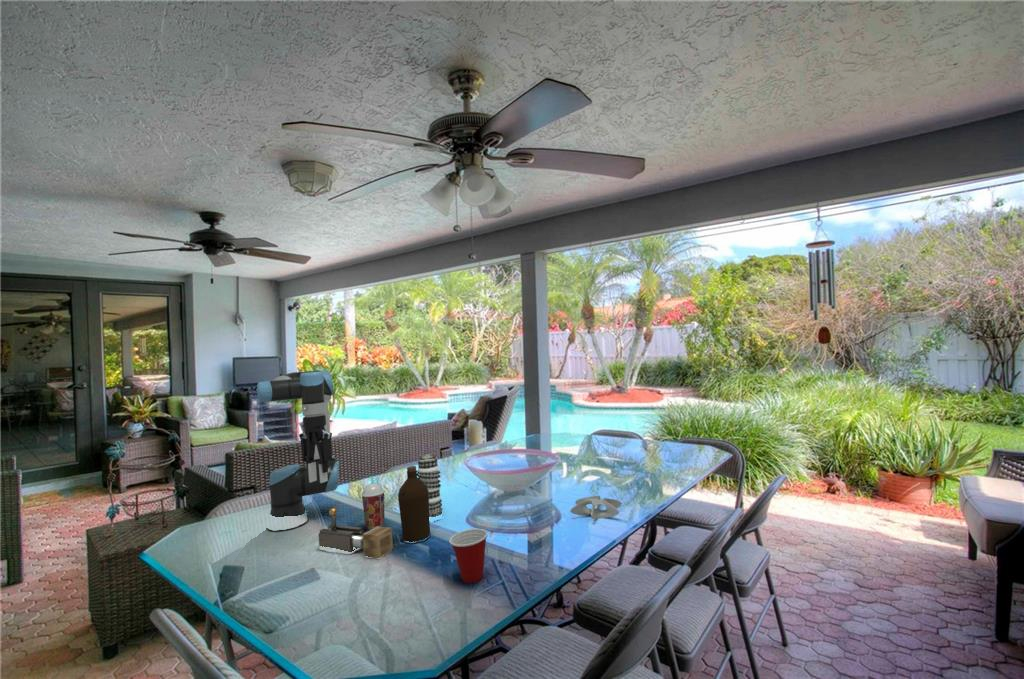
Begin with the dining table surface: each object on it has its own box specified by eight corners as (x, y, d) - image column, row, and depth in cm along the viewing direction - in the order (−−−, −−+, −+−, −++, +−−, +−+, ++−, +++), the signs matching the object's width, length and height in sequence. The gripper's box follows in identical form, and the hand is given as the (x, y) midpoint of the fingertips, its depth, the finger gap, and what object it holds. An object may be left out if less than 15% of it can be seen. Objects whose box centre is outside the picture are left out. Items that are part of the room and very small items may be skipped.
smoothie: (391, 526, 177) (387, 473, 178) (376, 534, 169) (372, 479, 170) (374, 524, 180) (371, 472, 181) (359, 532, 173) (355, 478, 173)
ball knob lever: (324, 545, 159) (322, 509, 159) (333, 541, 162) (330, 505, 163) (360, 550, 152) (357, 512, 153) (368, 545, 156) (365, 508, 156)
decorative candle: (415, 522, 178) (410, 457, 179) (428, 514, 187) (423, 452, 188) (435, 524, 175) (430, 457, 176) (448, 515, 183) (443, 452, 184)
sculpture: (604, 529, 157) (602, 510, 157) (560, 517, 172) (559, 499, 172) (633, 514, 168) (632, 497, 169) (590, 504, 183) (589, 488, 184)
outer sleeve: (319, 550, 158) (318, 530, 158) (333, 543, 164) (332, 524, 164) (350, 555, 152) (349, 534, 152) (364, 547, 158) (363, 527, 158)
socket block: (364, 557, 149) (362, 534, 150) (378, 548, 156) (377, 526, 156) (378, 559, 147) (377, 535, 147) (393, 550, 153) (391, 527, 154)
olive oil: (428, 543, 157) (423, 469, 158) (397, 545, 157) (392, 472, 158) (434, 531, 167) (429, 462, 168) (405, 533, 167) (400, 464, 168)
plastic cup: (449, 574, 133) (446, 532, 133) (486, 566, 136) (482, 525, 136) (455, 591, 122) (452, 546, 123) (495, 582, 125) (491, 538, 126)
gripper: (287, 417, 164) (291, 483, 163) (324, 416, 156) (328, 485, 155) (304, 414, 170) (309, 477, 170) (340, 413, 163) (345, 479, 162)
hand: (318, 481), depth 162 cm, fingers open, 4 cm apart
